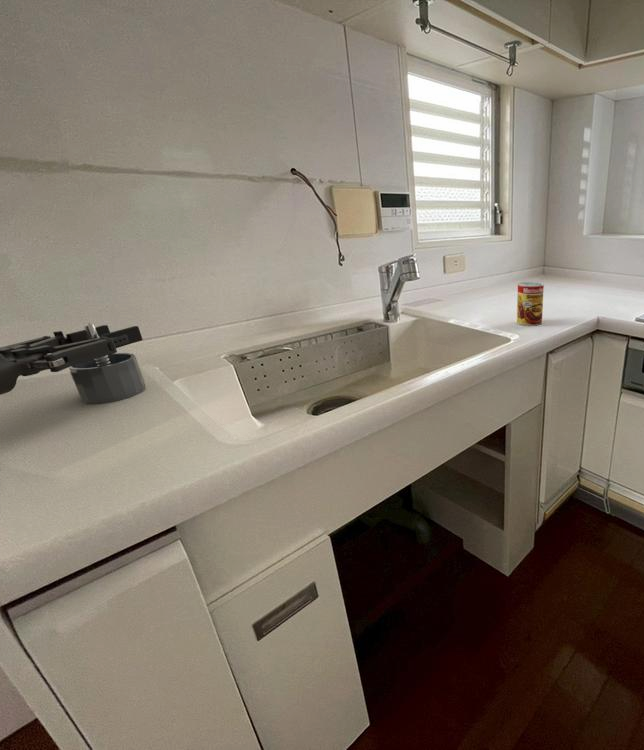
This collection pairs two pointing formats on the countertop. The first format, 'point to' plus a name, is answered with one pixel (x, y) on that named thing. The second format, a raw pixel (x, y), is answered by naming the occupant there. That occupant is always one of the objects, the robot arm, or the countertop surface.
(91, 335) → the screw
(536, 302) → the canned food
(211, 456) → the countertop surface
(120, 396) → the steel cup
